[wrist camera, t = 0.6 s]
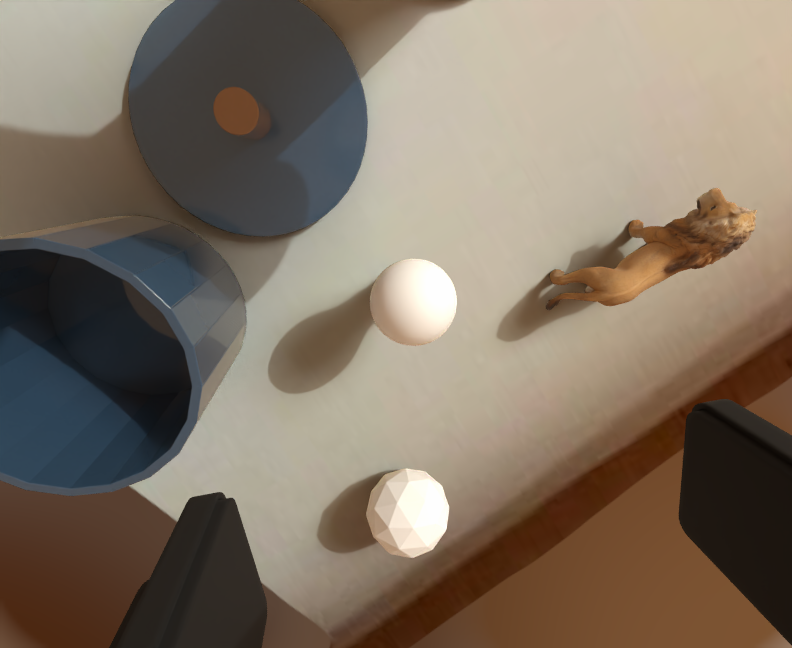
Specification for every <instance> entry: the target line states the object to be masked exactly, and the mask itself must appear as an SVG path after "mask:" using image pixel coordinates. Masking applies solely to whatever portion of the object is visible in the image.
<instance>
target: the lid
mask: <svg viewBox="0 0 792 648" xmlns="http://www.w3.org/2000/svg"><path fill="white" fill-rule="evenodd" d="M129 110H130V119H131V123H132V127H133V131H134V135H135V138H136V141H137V144H138V146H139V149H140V152H141V154H142V156H143V158H144V160H145V162H146V164H147V166H148V167H149V169H150V170H151V172H152V174H153V175H154V177H155V178H156V180H157V181H158V182H159V183H160V185H161V186H162V187H163V188H164V190H165V191H166V192H167V193H168V194H169V195H170V196H171V197H172V198H173V199H174V200H175V201H176V202H177V203H178V204H179V205H180V206H182V207H183V208H184V209H186V210H187V211H188V212H190V213H191V214H192V215H194V216H196V217H197V218H199V219H201V220H202V221H204V222H206V223H208V224H210V225H212V226H215V227H217V228H219V229H222V230H225V231H228V232H232V233H236V234H241V235H247V236H262V237H264V236H277V235H282V234H286V233H291V232H294V231H296V230H299V229H302V228H304V227H306V226H308V225H310V224H312V223H314V222H316V221H317V220H319V219H320V218H322V217H323V216H324V215H326V214H327V213H328V212H329V211H331V210H332V209H333V208H334V207H335V206H336V205H337V204H338V203H339V202H340V200H341V199H342V198H343V197H344V195H345V194H346V193H347V191H348V190H349V188H350V186H351V185H352V183H353V181H354V180H355V177H356V175H357V173H358V171H359V168H360V166H361V162H362V159H363V156H364V152H365V146H366V140H367V124H368V120H367V107H366V101H365V96H364V91H363V87H362V84H361V81H360V78H359V74H358V72H357V70H356V67H355V65H354V63H353V61H352V59H351V57H350V55H349V53H348V52H347V50H346V48H345V47H344V45H343V43H342V42H341V40H340V39H339V38H338V37H337V35H336V34H335V33H334V32H333V30H332V29H331V28H330V27H329V26H328V25H327V24H326V23H325V22H324V21H323V20H322V19H321V18H320V17H319V16H318V15H317V14H316V13H314V12H313V11H312V10H311V9H309V8H308V7H307V6H305V5H304V4H302V3H301V2H299V1H297V0H175V1H174V2H173V3H172V4H170V5H169V6H168V7H167V8H165V9H164V10H163V11H162V12H161V13H160V14H159V15H158V17H157V18H156V19H155V20H154V21H153V22H152V23H151V25H150V26H149V28H148V30H147V31H146V33H145V34H144V36H143V38H142V40H141V42H140V44H139V46H138V48H137V51H136V54H135V57H134V60H133V64H132V67H131V74H130V80H129Z"/></svg>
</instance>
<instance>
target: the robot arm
mask: <svg viewBox="0 0 792 648" xmlns="http://www.w3.org/2000/svg"><path fill="white" fill-rule="evenodd" d="M679 520H680V524H681V526H682V528H683V530H684V532H685V533H686V534H687V536H688V537H689V538H690V539H691V540H692V541H693V542H694V543H695V544H696V545H697V546H698V547H699V548H700V549H701V551H702V552H703V553H704V554H705V555H706V556H707V557H708V558H709V559H710V560H711V561H712V562H713V563H714V564H715V565H716V566H717V567H718V568H719V569H720V571H721V572H722V573H723V574H724V575H725V576H726V577H727V578H728V579H729V580H730V581H731V582H732V583H733V584H734V585H735V586H736V587H737V588H738V589H739V591H741V593H742V594H743V595H744V596H745V597H746V598H747V599H748V600H749V601H750V602H751V603H752V604H753V605H754V606H755V607H756V608H757V609H758V610H759V612H760V613H761V614H762V615H763V616H764V617H765V618H766V619H767V620H768V621H769V622H770V623H771V624H772V625H773V626H774V627H775V628H776V629H777V631H779V633H780V634H781V635H783V637H784V638H785V639H786V640H787V641H788V642H789V643H790V644H791V645H792V435H790V434H788V433H787V432H785V431H783V430H781V429H779V428H778V427H776V426H774V425H773V424H771V423H769V422H768V421H766V420H764V419H762V418H761V417H759V416H757V415H756V414H754V413H752V412H750V411H749V410H747V409H745V408H743V407H742V406H740V405H738V404H737V403H735V402H733V401H731V400H728V399H721V400H716V401H710V402H705V403H700V404H697V405H695V406H694V408H693V409H692V412H691V413H689V414H688V416H687V419H686V430H685V442H684V455H683V468H682V481H681V493H680V505H679ZM266 619H267V603H266V598H265V594H264V591H263V588H262V584H261V581H260V578H259V575H258V572H257V569H256V565H255V562H254V559H253V556H252V553H251V549H250V546H249V543H248V540H247V537H246V534H245V530H244V527H243V524H242V521H241V518H240V514H239V511H238V508H237V505H236V502H235V500H234V499H233V498H227V499H226V497H225V495H224V494H223V493H221V492H217V493H212V494H207V495H201V496H196V497H192V498H190V499H189V500H188V502H187V503H186V506H185V508H184V510H183V512H182V514H181V516H180V518H179V520H178V522H177V524H176V526H175V528H174V530H173V532H172V534H171V537H170V538H169V540H168V542H167V545H166V546H165V548H164V551H163V553H162V555H161V557H160V559H159V561H158V563H157V565H156V567H155V569H154V571H153V573H152V575H151V577H150V579H149V580H147V581H146V582H145V583H144V584H143V585H142V586H141V587H140V589H139V590H138V592H137V594H136V596H135V598H134V600H133V602H132V604H131V606H130V608H129V610H128V611H127V614H126V616H125V618H124V619H123V622H122V624H121V625H120V627H119V630H118V631H117V633H116V635H115V637H114V639H113V641H112V643H111V645H110V647H109V648H261V647H262V642H263V636H264V630H265V625H266Z"/></svg>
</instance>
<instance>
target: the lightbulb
mask: <svg viewBox="0 0 792 648" xmlns="http://www.w3.org/2000/svg"><path fill="white" fill-rule="evenodd" d="M456 307H457V297H456V292H455V288H454V285H453V283H452V281H451V279H450V278H449V277H448V275H447V274H446V273H445V272H444V271H443V270H442V269H441V268H440V267H439V266H437V265H435V264H433V263H432V262H429V261H426V260H423V259H405V260H402V261H399V262H396V263H394V264H392V265H390V266H389V267H388V268H386V269H385V270H384V271H383V272H382V273H381V274H380V275H379V276H378V278H377V279H376V281H375V283H374V285H373V287H372V290H371V294H370V309H371V314H372V317H373V320H374V322H375V324H376V325H377V327H378V328H379V329H380V330H381V332H382V333H383V334H384V335H386V336H387V337H388V338H389V339H391V340H393V341H395V342H397V343H400V344H404V345H412V346H416V345H423V344H427V343H430V342H432V341H434V340H436V339H437V338H439V337H440V336H441V335H443V333H444V332H445V331H446V330H447V329H448V328H449V326H450V324H451V323H452V321H453V318H454V316H455V313H456Z"/></svg>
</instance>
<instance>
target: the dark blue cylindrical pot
mask: <svg viewBox="0 0 792 648" xmlns="http://www.w3.org/2000/svg"><path fill="white" fill-rule="evenodd" d="M245 330H246V307H245V302H244V297H243V294H242V291H241V288H240V285H239V283H238V281H237V279H236V277H235V275H234V273H233V272H232V270H231V269H230V267H229V266H228V264H227V263H226V262H225V260H224V259H223V258H222V257H221V256H220V254H219V253H218V252H217V251H216V250H214V249H213V248H212V247H211V246H210V245H209V244H208V243H207V242H205V241H204V240H203V239H201V238H200V237H199V236H197V235H195V234H194V233H192V232H190V231H189V230H187V229H185V228H183V227H181V226H178V225H176V224H174V223H171V222H168V221H165V220H161V219H158V218H152V217H146V216H140V215H133V216H132V215H129V216H116V217H104V218H99V219H93V220H88V221H83V222H77V223H72V224H67V225H62V226H56V227H51V228H46V229H40V230H35V231H30V232H25V233H19V234H14V235H9V236H3V237H0V481H3V482H6V483H8V484H11V485H14V486H16V487H19V488H21V489H24V490H28V491H36V492H44V493H51V494H58V495H66V496H78V495H87V494H97V493H106V492H113V491H116V490H119V489H121V488H124V487H126V486H129V485H132V484H134V483H137V482H139V481H142V480H144V479H147V478H149V477H151V476H152V475H154V474H155V473H156V472H157V471H158V470H160V469H161V468H162V467H163V466H165V465H166V464H167V463H168V462H169V461H171V460H172V459H173V458H174V457H176V456H177V455H178V454H179V453H180V451H181V449H182V448H183V446H184V444H185V443H186V441H187V439H188V438H189V436H190V434H191V433H192V431H193V429H194V427H195V426H196V424H197V422H198V421H199V419H200V417H201V416H202V414H203V412H204V411H205V409H206V407H207V406H208V404H209V402H210V401H211V399H212V397H213V396H214V394H215V392H216V391H217V389H218V387H219V386H220V384H221V382H222V381H223V379H224V377H225V375H226V374H227V372H228V370H229V369H230V367H231V365H232V364H233V362H234V360H235V358H236V357H237V355H238V353H239V352H240V350H241V348H242V343H243V340H244V336H245Z"/></svg>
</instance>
